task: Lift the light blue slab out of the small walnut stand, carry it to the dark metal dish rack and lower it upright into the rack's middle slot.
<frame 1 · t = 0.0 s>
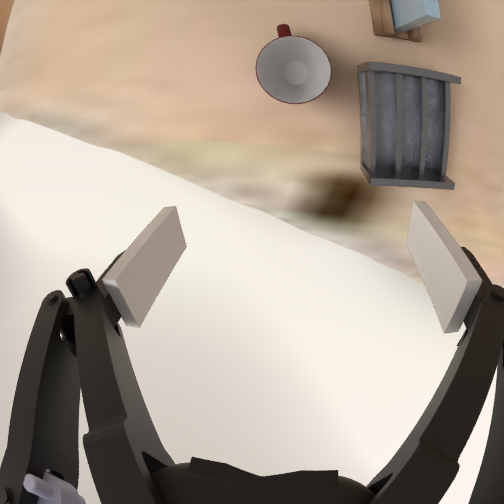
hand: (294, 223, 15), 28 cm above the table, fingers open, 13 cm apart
rack: (401, 120, 33), on the table
mug: (291, 65, 32), on the table
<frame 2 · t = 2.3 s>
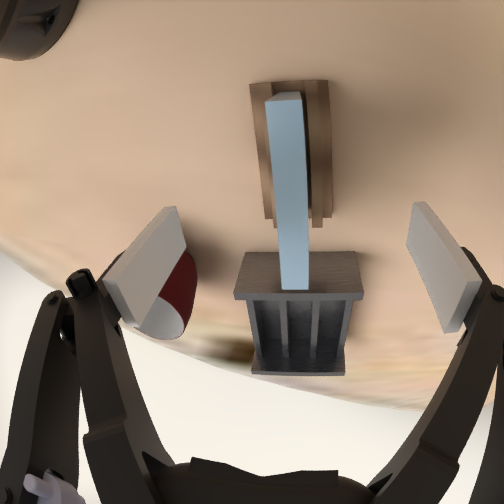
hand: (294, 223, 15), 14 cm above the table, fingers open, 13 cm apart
stand: (294, 150, 26), on the table
rack: (300, 301, 37), on the table
light blue slab: (294, 153, 25), point 1 cm above the table, touching stand
mug: (176, 252, 36), on the table
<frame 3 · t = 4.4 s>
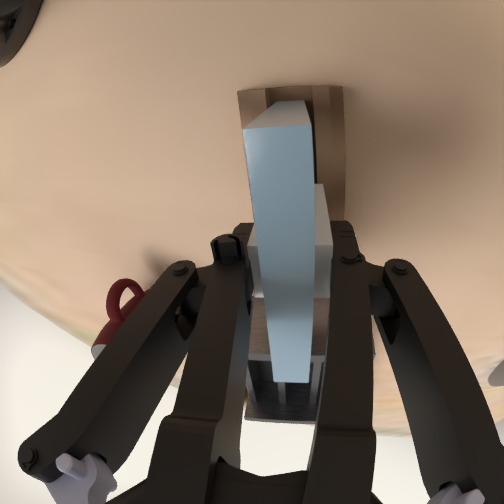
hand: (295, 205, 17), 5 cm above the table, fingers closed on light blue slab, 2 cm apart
stand: (297, 178, 21), on the table
rack: (300, 345, 32), on the table
light blue slab: (296, 182, 20), point 1 cm above the table, touching gripper
mug: (158, 291, 30), on the table
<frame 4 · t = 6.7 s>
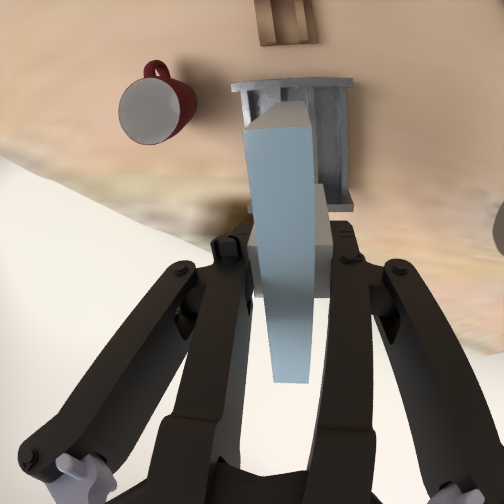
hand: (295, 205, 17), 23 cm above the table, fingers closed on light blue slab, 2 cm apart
rack: (297, 136, 35), on the table
light blue slab: (296, 183, 20), point 19 cm above the table, touching gripper
mug: (179, 94, 34), on the table
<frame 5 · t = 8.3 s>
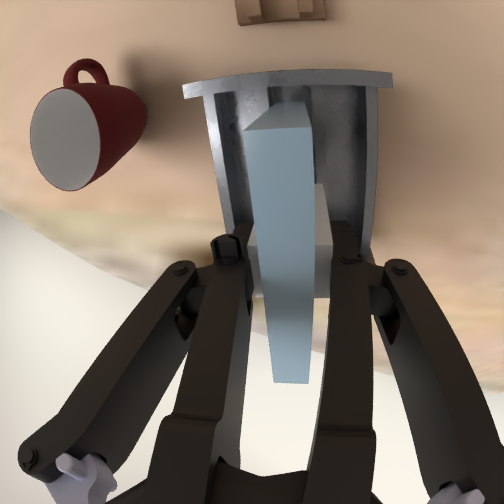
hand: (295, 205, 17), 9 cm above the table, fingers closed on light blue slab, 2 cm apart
rack: (297, 162, 24), on the table
light blue slab: (296, 183, 20), point 5 cm above the table, touching gripper
mug: (126, 104, 23), on the table
when the fingers open (6 cm above the table, at t = 9.3 s): light blue slab drops 1 cm, resting on rack.
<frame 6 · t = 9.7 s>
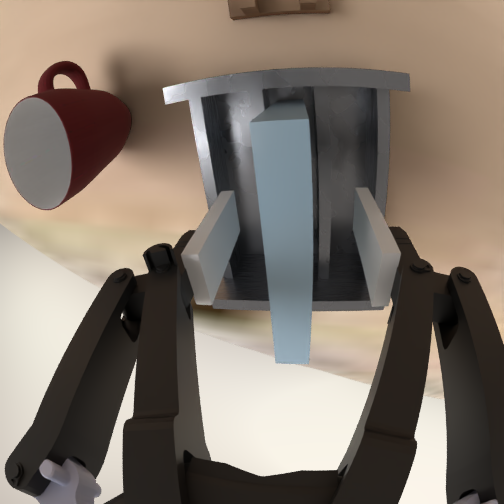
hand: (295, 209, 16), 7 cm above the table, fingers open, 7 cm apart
rack: (297, 173, 22), on the table
light blue slab: (296, 177, 21), point 1 cm above the table, touching rack
mug: (110, 109, 20), on the table
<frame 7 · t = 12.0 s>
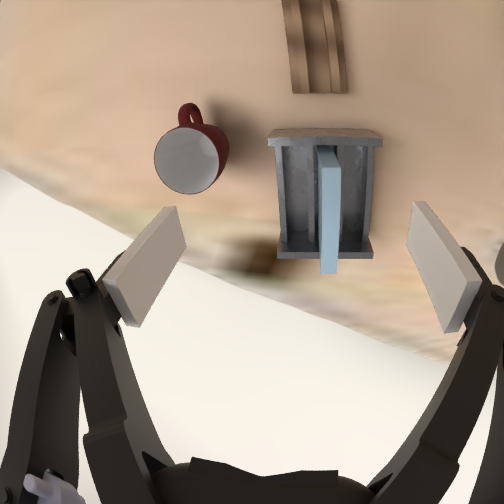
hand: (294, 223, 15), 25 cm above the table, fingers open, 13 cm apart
stand: (314, 43, 28), on the table
rack: (323, 183, 38), on the table
light blue slab: (323, 185, 37), point 1 cm above the table, touching rack
mug: (209, 135, 37), on the table
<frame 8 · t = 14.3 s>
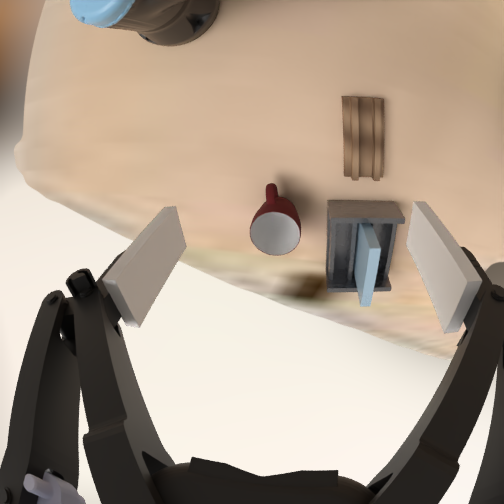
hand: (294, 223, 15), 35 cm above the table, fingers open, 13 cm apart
stand: (363, 136, 42), on the table
rack: (358, 237, 53), on the table
light blue slab: (359, 240, 52), point 1 cm above the table, touching rack
mug: (277, 201, 52), on the table
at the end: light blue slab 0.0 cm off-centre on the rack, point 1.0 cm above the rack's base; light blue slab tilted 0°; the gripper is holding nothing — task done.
